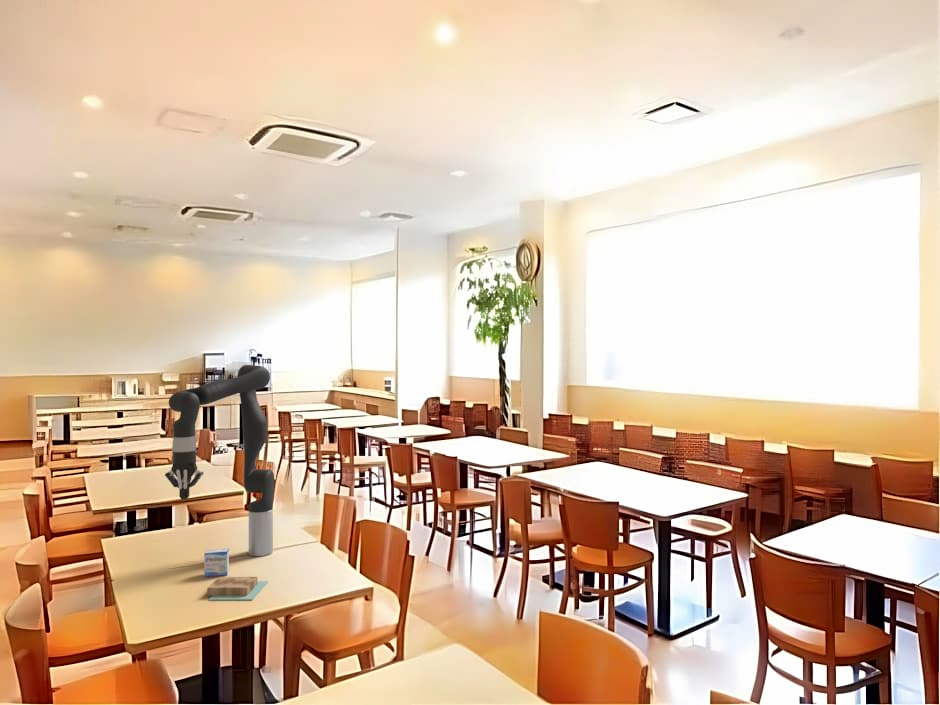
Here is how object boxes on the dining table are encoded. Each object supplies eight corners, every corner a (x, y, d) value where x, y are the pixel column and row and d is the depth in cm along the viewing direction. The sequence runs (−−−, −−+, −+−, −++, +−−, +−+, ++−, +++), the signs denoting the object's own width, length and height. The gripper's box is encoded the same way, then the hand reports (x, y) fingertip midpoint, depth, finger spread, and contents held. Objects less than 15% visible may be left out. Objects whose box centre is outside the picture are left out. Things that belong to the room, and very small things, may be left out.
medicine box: (204, 577, 223) (203, 553, 223) (205, 573, 228) (205, 549, 228) (227, 575, 225) (227, 551, 225) (228, 571, 230) (228, 547, 230)
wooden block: (219, 576, 216) (257, 576, 216) (219, 584, 216) (257, 584, 216) (207, 587, 206) (247, 587, 206) (207, 595, 206) (247, 595, 206)
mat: (227, 582, 219) (227, 581, 219) (267, 582, 219) (267, 581, 219) (208, 600, 203) (208, 599, 203) (252, 600, 203) (252, 599, 203)
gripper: (207, 447, 222) (207, 496, 222) (170, 447, 222) (170, 496, 222) (198, 451, 215) (198, 501, 215) (160, 451, 215) (160, 501, 215)
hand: (184, 499), depth 219 cm, fingers closed
